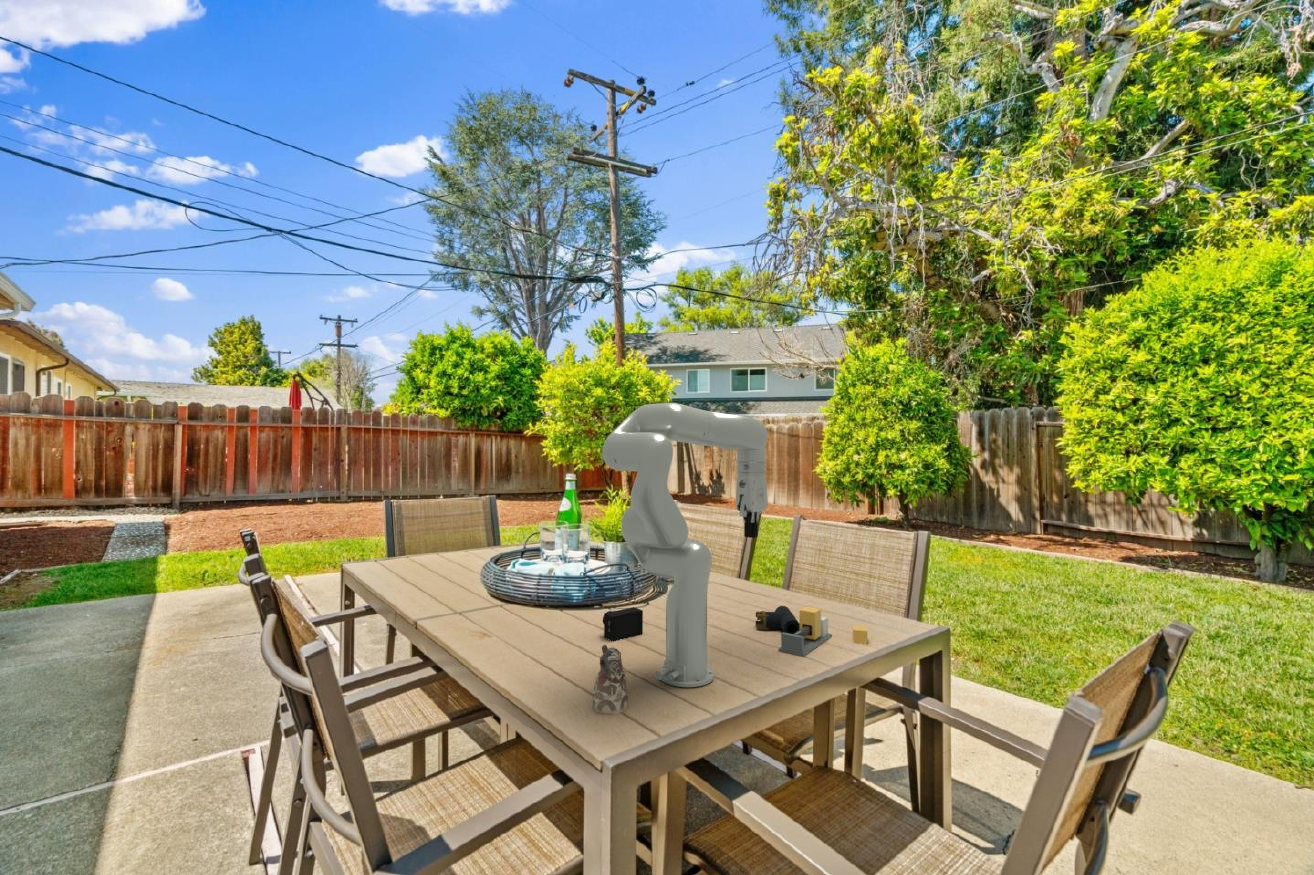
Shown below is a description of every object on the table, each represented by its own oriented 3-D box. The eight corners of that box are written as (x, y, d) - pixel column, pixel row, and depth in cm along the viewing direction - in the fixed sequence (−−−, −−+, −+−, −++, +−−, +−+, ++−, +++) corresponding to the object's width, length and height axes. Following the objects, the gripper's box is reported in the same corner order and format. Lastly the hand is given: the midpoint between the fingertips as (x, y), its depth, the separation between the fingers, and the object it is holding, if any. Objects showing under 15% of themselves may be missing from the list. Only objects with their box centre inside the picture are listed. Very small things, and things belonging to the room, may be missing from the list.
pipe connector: (760, 618, 164) (753, 604, 178) (760, 637, 163) (752, 621, 178) (801, 619, 163) (791, 605, 178) (801, 639, 163) (790, 622, 178)
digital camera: (632, 629, 169) (632, 605, 170) (643, 634, 165) (643, 609, 165) (601, 636, 163) (601, 611, 163) (612, 642, 159) (612, 616, 159)
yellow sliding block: (814, 639, 157) (814, 612, 157) (799, 636, 160) (799, 610, 160) (821, 635, 161) (820, 609, 161) (805, 632, 163) (805, 606, 163)
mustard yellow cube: (867, 644, 157) (867, 631, 158) (853, 643, 159) (853, 630, 159) (866, 639, 162) (866, 626, 162) (852, 638, 163) (852, 625, 163)
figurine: (604, 717, 114) (604, 656, 114) (586, 704, 120) (586, 646, 120) (634, 708, 118) (634, 648, 118) (616, 696, 124) (616, 639, 124)
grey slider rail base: (804, 656, 148) (804, 636, 148) (778, 650, 152) (778, 630, 152) (832, 636, 164) (832, 617, 164) (808, 631, 168) (808, 613, 168)
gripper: (750, 469, 148) (750, 542, 148) (775, 468, 160) (776, 535, 160) (724, 469, 153) (724, 539, 152) (751, 467, 165) (751, 532, 164)
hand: (751, 536), depth 156 cm, fingers closed
